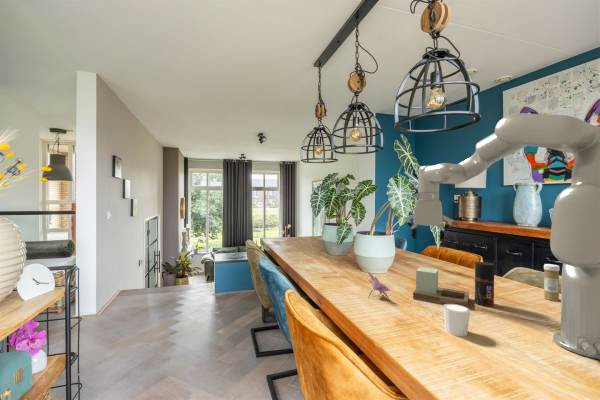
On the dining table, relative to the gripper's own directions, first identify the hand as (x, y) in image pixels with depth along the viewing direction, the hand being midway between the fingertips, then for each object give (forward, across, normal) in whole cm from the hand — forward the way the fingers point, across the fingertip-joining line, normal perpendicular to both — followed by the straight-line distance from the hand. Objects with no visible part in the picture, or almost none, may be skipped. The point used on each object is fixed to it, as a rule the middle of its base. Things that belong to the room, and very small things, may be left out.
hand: (427, 239), depth 111 cm
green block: (+20, 0, 0) cm, 20 cm away
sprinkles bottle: (+22, +41, +24) cm, 53 cm away
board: (+22, +5, 0) cm, 23 cm away
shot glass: (+22, +12, -28) cm, 38 cm away
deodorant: (+22, +19, +3) cm, 30 cm away
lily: (+23, -16, -13) cm, 31 cm away
